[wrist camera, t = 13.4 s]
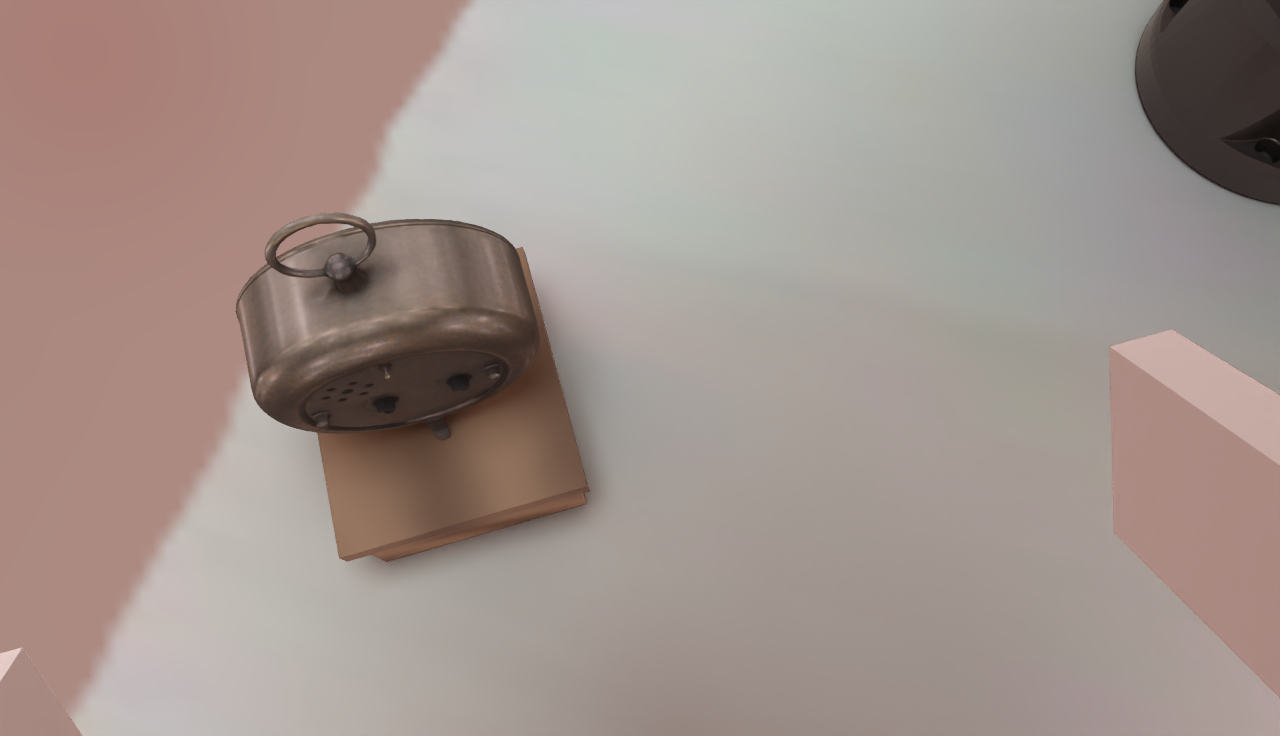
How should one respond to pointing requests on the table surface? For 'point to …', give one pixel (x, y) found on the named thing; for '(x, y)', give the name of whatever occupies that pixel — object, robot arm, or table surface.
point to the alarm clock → (385, 324)
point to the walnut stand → (457, 468)
